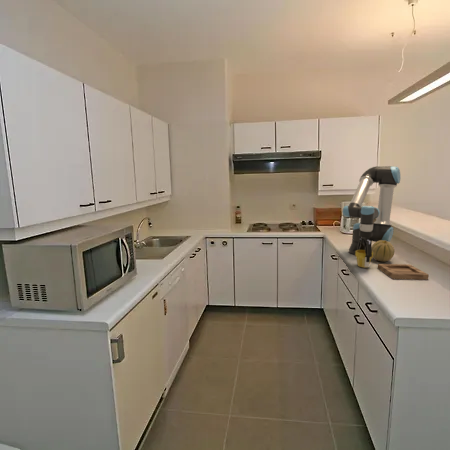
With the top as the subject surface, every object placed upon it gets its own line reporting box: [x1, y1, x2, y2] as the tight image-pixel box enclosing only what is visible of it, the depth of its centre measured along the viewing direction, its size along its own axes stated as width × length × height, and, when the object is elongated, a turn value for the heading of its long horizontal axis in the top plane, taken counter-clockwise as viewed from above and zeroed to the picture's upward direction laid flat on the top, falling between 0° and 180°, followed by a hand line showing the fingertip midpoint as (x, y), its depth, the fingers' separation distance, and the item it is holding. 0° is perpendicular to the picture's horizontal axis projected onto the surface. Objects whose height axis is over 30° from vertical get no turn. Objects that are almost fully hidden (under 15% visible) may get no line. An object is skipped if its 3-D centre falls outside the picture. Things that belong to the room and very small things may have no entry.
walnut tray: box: [377, 263, 430, 281], centre depth 193 cm, size 20×20×3 cm
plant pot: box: [354, 250, 374, 268], centre depth 206 cm, size 10×10×10 cm
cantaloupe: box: [371, 240, 395, 263], centre depth 219 cm, size 15×15×15 cm
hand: (363, 264), depth 207 cm, fingers closed on plant pot, 10 cm apart
